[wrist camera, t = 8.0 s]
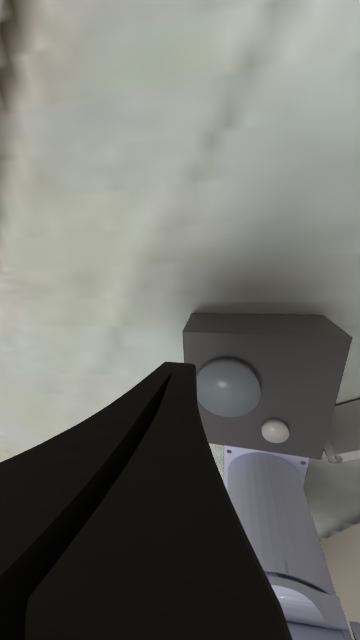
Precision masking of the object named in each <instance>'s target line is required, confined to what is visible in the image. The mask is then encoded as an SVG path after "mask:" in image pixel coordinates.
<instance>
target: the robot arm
mask: <svg viewBox="0 0 360 640" xmlns="http://www.w3.org/2000/svg"><path fill="white" fill-rule="evenodd" d="M308 464H309V458H307V457H300V456H293V455H286V454H280V453H273V452H266V451H259V450H253V449H246V448H239V447H232V446H226V445H224V481H223V480H222V478H221V475H220V473H219V470H218V468H217V465H216V463H215V460H214V457H213V455H212V452H211V449H210V446H209V443H208V440H207V437H206V434H205V431H204V428H203V424H202V421H201V417H200V413H199V409H198V404H197V379H196V366H195V365H194V364H191V363H176V362H164V363H163V364H162V365H161V366H159V367H158V368H157V369H156V370H155V371H153V372H152V373H151V374H150V375H148V376H147V377H146V378H145V379H143V380H142V381H141V382H140V383H138V384H137V385H136V386H135V387H133V388H132V389H131V390H129V391H128V392H127V393H125V394H124V395H122V396H121V397H120V398H118V399H117V400H115V401H114V402H113V403H111V404H110V405H108V406H107V407H105V408H104V409H102V410H101V411H99V412H98V413H96V414H94V415H93V416H91V417H89V418H88V419H86V420H84V421H83V422H81V423H79V424H77V425H76V426H74V427H72V428H70V429H68V430H66V431H64V432H62V433H61V434H59V435H57V436H55V437H53V438H51V439H49V440H47V441H45V442H43V443H42V444H40V445H37V446H35V447H33V448H31V449H29V450H27V451H25V452H23V453H21V454H18V455H16V456H14V457H12V458H10V459H7V460H5V461H3V462H1V463H0V640H352V637H351V634H350V631H349V628H348V625H347V622H346V619H345V615H344V612H343V609H342V606H341V603H340V599H339V597H338V596H337V595H336V592H335V589H334V586H333V583H332V580H331V576H330V573H329V570H328V567H327V564H326V560H325V557H324V554H323V551H322V548H321V544H320V541H319V538H318V534H317V531H316V528H315V525H314V522H313V518H312V515H311V512H310V509H309V505H308V502H307V499H306V496H305V493H304V489H303V486H304V481H305V477H306V472H307V468H308ZM350 625H351V629H352V632H353V635H354V638H355V640H360V623H359V622H353V621H350Z"/></svg>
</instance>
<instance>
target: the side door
mask: <svg viewBox="0 0 360 640" xmlns="http://www.w3.org/2000/svg"><path fill="white" fill-rule="evenodd" d="M324 452H325V454H326V456H327V458H328V460H329V462H331V463H334V464H338V463H341V462H346V461H351V460H356V459H360V399H359V400H356V401H352V402H349V403H345V404H341V405H338V406H335V407H334V411H333V415H332V419H331V423H330V427H329V431H328V435H327V439H326V443H325V447H324Z"/></svg>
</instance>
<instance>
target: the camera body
mask: <svg viewBox="0 0 360 640" xmlns="http://www.w3.org/2000/svg"><path fill="white" fill-rule="evenodd" d="M351 340H352V337H351V336H350V335H348V334H347V333H346V332H344V331H343V330H342V329H340V328H339V327H338V326H336V325H335V324H334V323H332V322H331V321H330V320H329V319H327V318H326V317H325V316H323V315H284V314H205V313H192V314H191V316H190V318H189V320H188V322H187V324H186V326H185V328H184V330H183V348H184V363H191V364H194V365H195V366H196V379H197V404H198V409H199V413H200V417H201V421H202V424H203V428H204V431H205V434H206V437H207V440H208V443H212V444H219V445H226V446H232V447H239V448H246V449H253V450H259V451H266V452H273V453H280V454H286V455H293V456H300V457H307V458H313V459H320V460H321V459H322V455H323V451H324V447H325V443H326V439H327V435H328V431H329V427H330V423H331V419H332V415H333V411H334V407H335V403H336V399H337V395H338V392H339V388H340V384H341V380H342V376H343V372H344V368H345V364H346V360H347V356H348V352H349V348H350V344H351Z"/></svg>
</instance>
